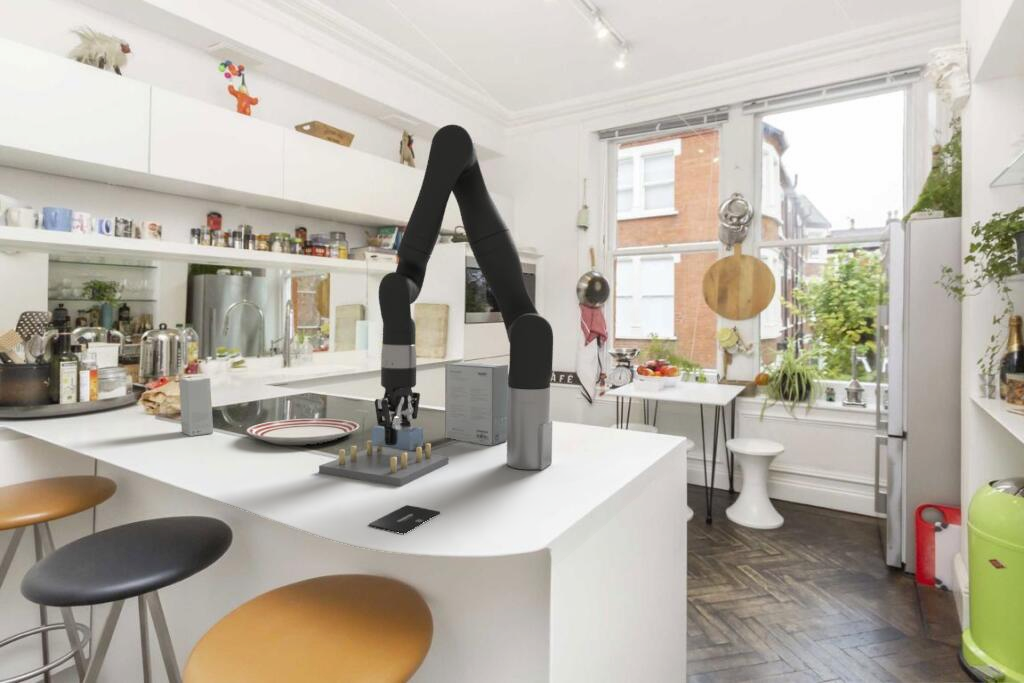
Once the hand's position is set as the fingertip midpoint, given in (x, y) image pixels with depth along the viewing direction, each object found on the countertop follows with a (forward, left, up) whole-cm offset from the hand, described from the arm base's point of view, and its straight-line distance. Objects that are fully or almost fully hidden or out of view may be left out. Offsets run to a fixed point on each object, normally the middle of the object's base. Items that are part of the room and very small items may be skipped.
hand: (397, 441), depth 122 cm
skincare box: (+65, -1, -5) cm, 65 cm away
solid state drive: (-21, +27, -5) cm, 34 cm away
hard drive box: (-5, -28, -5) cm, 29 cm away
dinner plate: (+36, -10, -5) cm, 38 cm away
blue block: (0, 0, -1) cm, 1 cm away
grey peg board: (0, +4, -5) cm, 6 cm away
